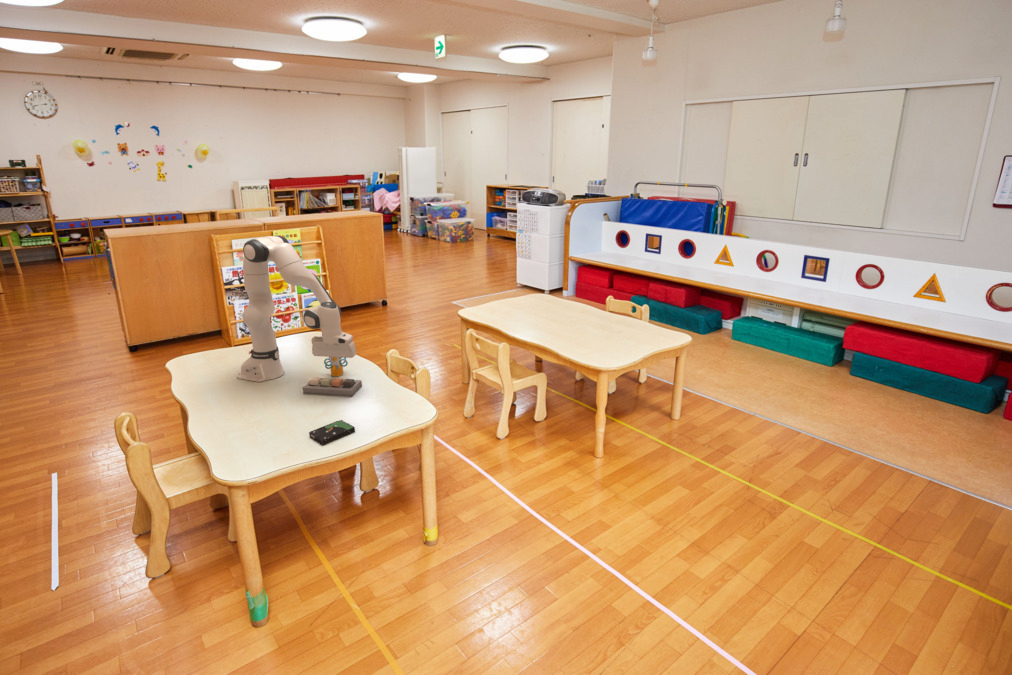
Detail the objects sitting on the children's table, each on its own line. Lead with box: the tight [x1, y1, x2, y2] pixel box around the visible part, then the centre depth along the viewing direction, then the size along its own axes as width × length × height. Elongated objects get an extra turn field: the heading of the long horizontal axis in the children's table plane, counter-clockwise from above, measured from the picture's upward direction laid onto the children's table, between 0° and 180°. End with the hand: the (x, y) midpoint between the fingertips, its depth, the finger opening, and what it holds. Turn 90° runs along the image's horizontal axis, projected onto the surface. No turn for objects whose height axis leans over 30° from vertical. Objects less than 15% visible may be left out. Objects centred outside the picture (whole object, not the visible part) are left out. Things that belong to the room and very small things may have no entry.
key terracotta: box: [332, 377, 344, 386], centre depth 262 cm, size 4×4×2 cm
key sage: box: [321, 377, 332, 386], centre depth 263 cm, size 4×4×2 cm
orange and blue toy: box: [323, 357, 349, 378], centre depth 279 cm, size 12×10×15 cm
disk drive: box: [308, 419, 356, 446], centre depth 224 cm, size 10×3×15 cm
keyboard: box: [302, 377, 363, 398], centre depth 263 cm, size 24×12×3 cm, turn 82°
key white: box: [309, 376, 322, 385], centre depth 263 cm, size 4×4×2 cm
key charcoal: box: [343, 378, 355, 387], centre depth 261 cm, size 4×4×2 cm
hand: (335, 365), depth 259 cm, fingers closed
